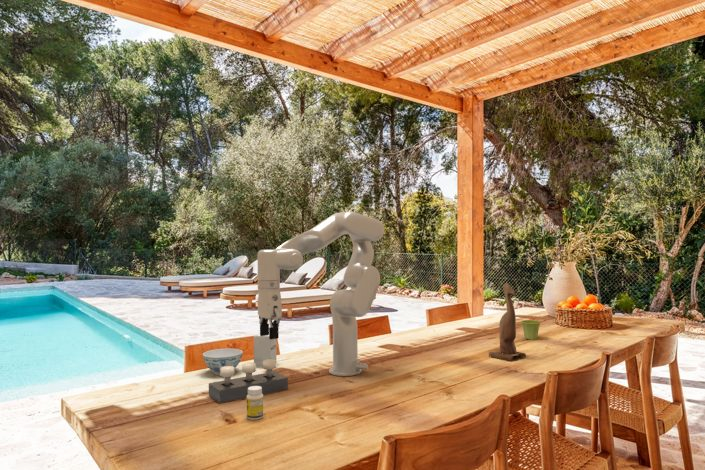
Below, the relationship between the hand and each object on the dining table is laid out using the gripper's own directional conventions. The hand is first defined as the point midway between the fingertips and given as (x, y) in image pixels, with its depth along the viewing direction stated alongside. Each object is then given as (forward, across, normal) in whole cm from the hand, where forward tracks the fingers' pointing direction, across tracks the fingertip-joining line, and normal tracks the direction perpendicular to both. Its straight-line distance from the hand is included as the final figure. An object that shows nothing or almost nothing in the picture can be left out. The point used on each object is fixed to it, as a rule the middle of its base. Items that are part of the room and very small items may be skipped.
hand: (269, 336), depth 167 cm
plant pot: (+18, -4, -144) cm, 145 cm away
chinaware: (+18, +29, +6) cm, 35 cm away
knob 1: (+14, 0, +15) cm, 20 cm away
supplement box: (+18, +30, -12) cm, 37 cm away
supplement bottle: (+18, -23, +15) cm, 33 cm away
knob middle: (+14, 0, +8) cm, 16 cm away
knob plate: (+18, 0, +8) cm, 19 cm away
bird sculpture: (+18, -22, -101) cm, 105 cm away
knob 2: (+14, 0, 0) cm, 14 cm away
